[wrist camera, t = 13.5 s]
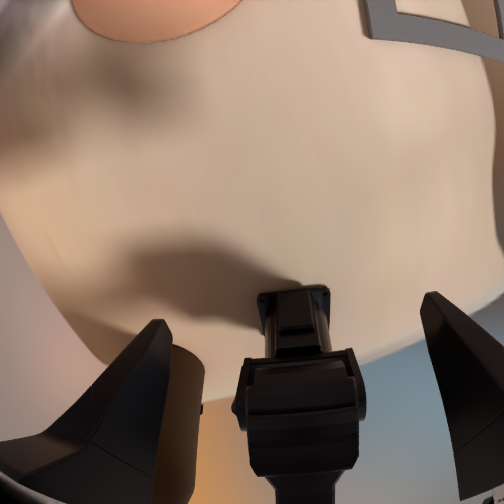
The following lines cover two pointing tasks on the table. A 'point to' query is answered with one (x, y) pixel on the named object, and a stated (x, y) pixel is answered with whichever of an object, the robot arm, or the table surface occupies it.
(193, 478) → the olive oil
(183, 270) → the table surface
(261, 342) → the table surface
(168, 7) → the plate
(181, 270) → the table surface
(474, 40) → the gray square frame
